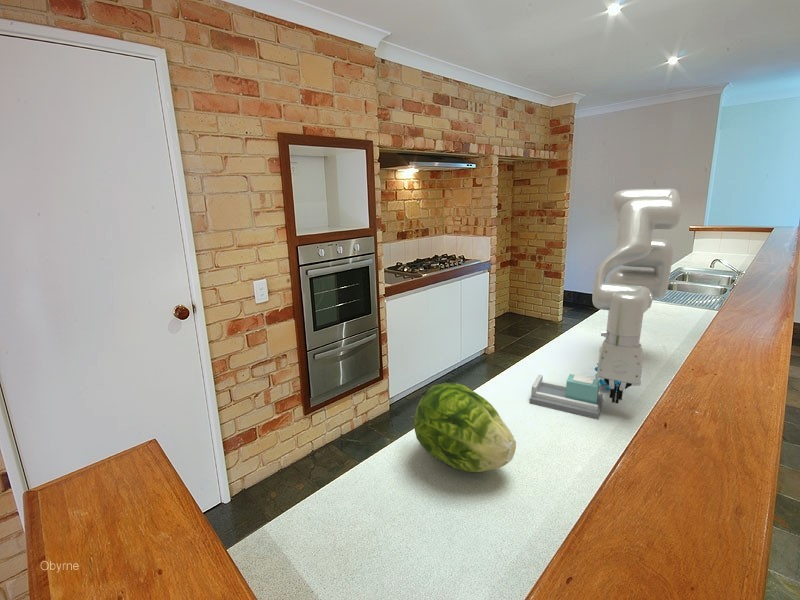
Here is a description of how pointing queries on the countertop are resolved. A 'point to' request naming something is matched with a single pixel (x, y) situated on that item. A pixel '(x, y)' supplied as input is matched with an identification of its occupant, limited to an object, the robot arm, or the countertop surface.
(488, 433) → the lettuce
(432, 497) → the countertop surface
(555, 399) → the rail base
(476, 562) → the countertop surface
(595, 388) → the block
